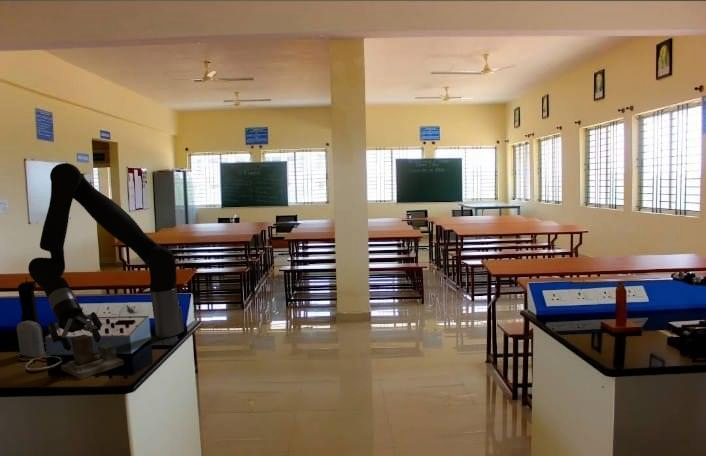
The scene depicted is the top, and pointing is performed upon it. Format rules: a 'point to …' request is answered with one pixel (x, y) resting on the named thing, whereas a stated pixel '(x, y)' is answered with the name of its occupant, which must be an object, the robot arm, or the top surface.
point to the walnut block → (82, 350)
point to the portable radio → (28, 301)
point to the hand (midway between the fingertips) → (84, 345)
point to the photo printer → (30, 339)
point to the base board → (95, 363)
